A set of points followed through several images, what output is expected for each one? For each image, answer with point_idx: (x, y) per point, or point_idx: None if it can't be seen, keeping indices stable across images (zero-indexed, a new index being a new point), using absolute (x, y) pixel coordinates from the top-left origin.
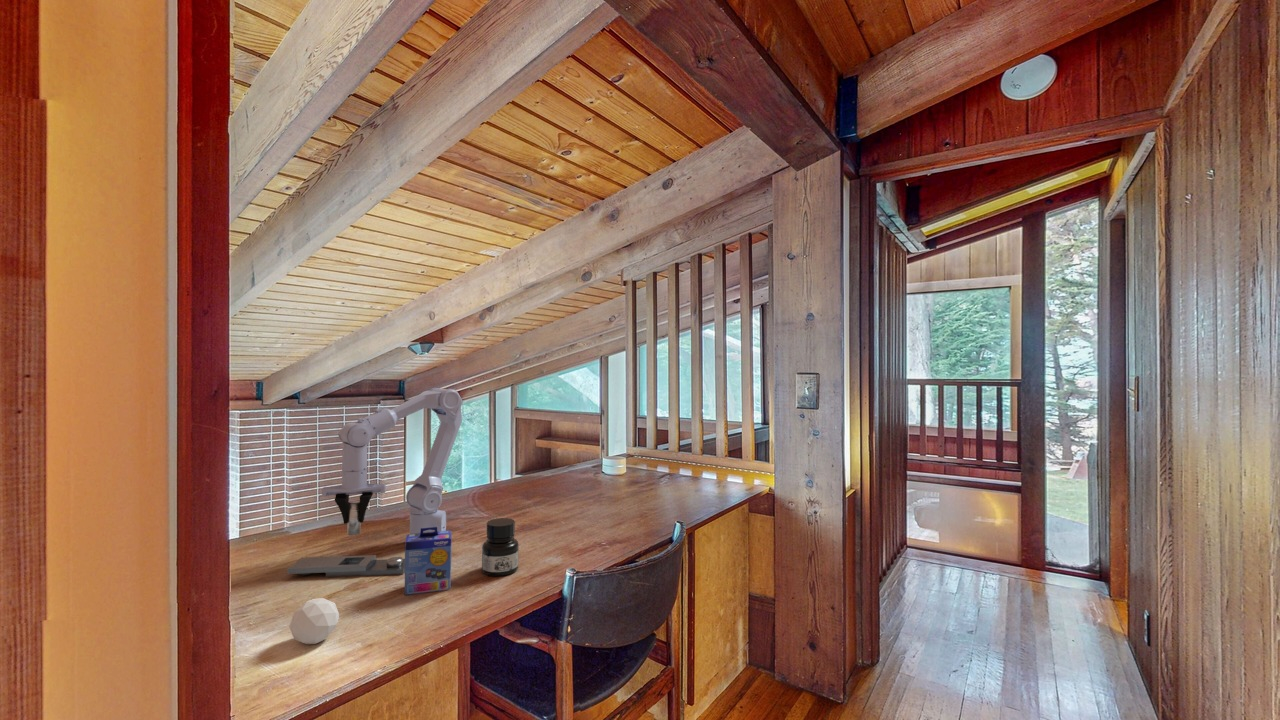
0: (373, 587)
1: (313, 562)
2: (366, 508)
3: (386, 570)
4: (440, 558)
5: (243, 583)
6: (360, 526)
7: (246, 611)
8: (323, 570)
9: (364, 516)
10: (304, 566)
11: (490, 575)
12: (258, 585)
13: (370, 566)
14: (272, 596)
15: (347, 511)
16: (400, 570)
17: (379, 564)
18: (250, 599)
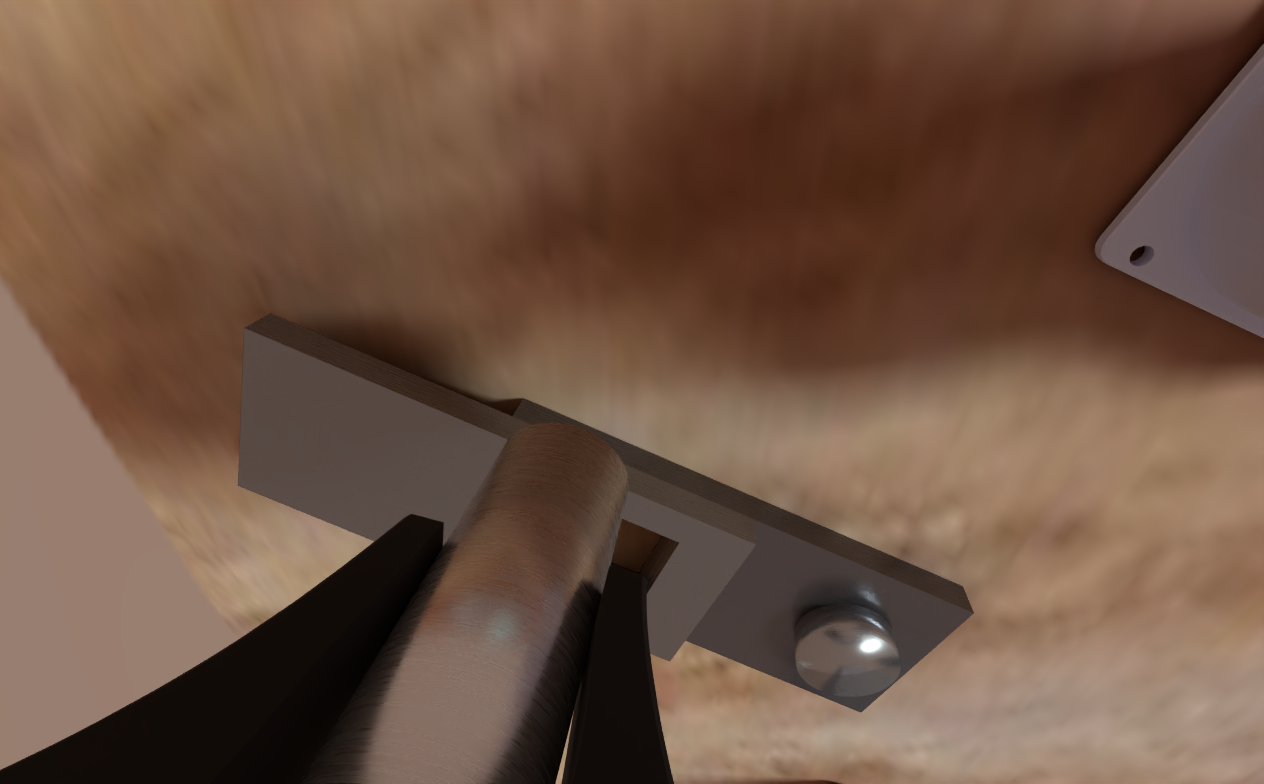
0: (695, 724)
1: (357, 462)
2: (660, 747)
3: (777, 676)
4: None
5: (79, 392)
6: (615, 543)
7: None
8: None
9: (646, 617)
10: (324, 499)
11: None
12: (173, 456)
13: None
14: (298, 598)
15: (347, 677)
16: (847, 702)
17: (758, 597)
18: (222, 581)
